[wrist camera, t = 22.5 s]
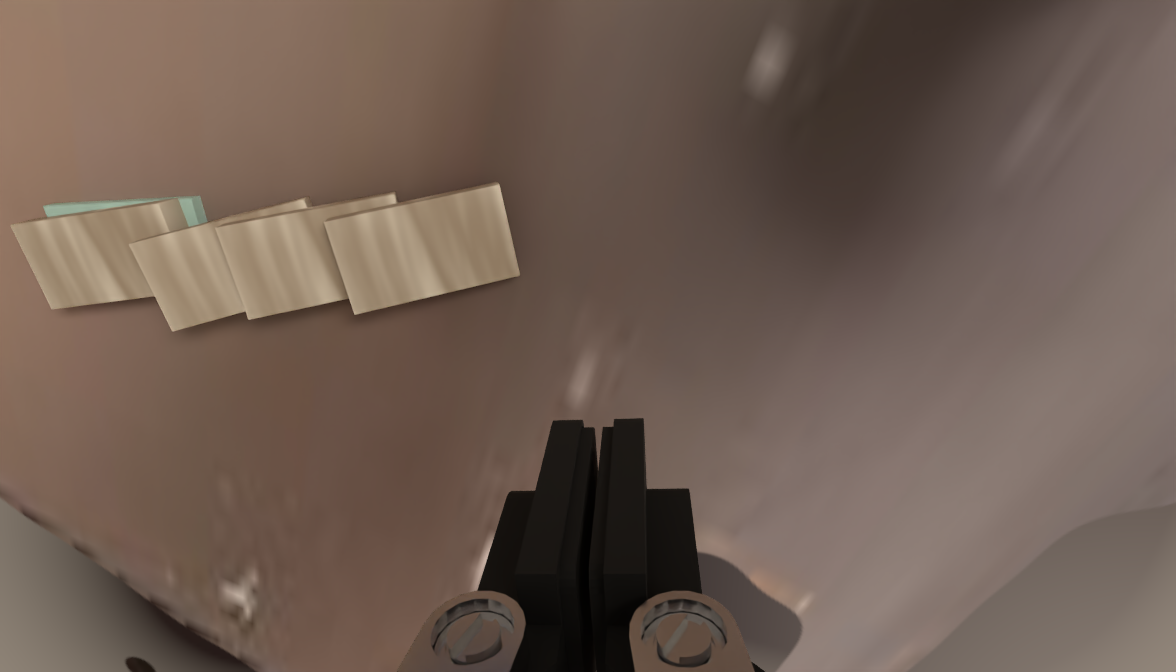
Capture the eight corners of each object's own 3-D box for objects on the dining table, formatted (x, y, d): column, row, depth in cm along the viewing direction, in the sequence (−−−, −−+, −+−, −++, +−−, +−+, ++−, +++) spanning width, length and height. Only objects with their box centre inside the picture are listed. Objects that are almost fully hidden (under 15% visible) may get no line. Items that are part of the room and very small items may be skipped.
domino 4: (394, 194, 34) (215, 227, 32) (417, 284, 36) (248, 319, 34) (395, 191, 35) (224, 223, 34) (418, 277, 37) (255, 311, 36)
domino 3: (303, 199, 34) (128, 244, 33) (337, 285, 36) (172, 331, 35) (308, 196, 36) (141, 238, 35) (340, 279, 38) (182, 323, 36)
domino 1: (191, 198, 36) (43, 206, 37) (216, 283, 38) (75, 289, 38) (208, 193, 37) (66, 200, 38) (232, 275, 39) (95, 281, 40)
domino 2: (158, 203, 34) (10, 225, 35) (193, 291, 36) (51, 309, 37) (177, 197, 36) (35, 218, 37) (210, 282, 38) (74, 300, 39)
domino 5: (499, 184, 33) (323, 222, 32) (520, 275, 35) (354, 314, 34) (496, 181, 35) (328, 217, 34) (516, 269, 37) (357, 306, 35)
